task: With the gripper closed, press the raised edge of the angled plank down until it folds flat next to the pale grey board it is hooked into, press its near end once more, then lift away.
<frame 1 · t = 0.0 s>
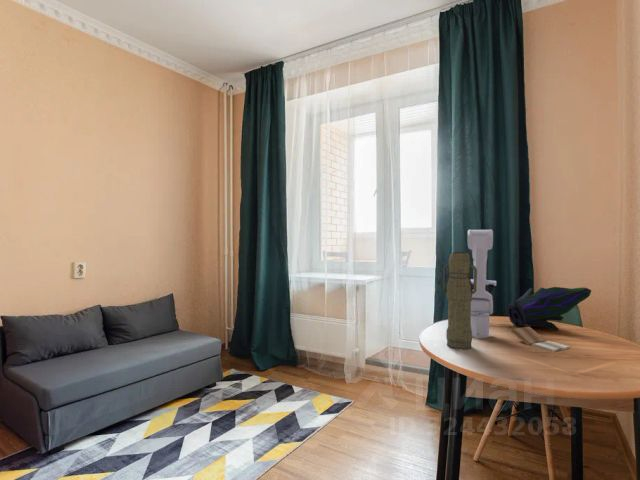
hand: (479, 298, 182), 11 cm above the table, fingers open, 7 cm apart
plank: (528, 335, 143), point 3 cm above the table, hinge at 28.0°
thermos: (459, 346, 138), on the table
laid board: (550, 348, 136), on the table
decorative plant: (542, 328, 168), on the table
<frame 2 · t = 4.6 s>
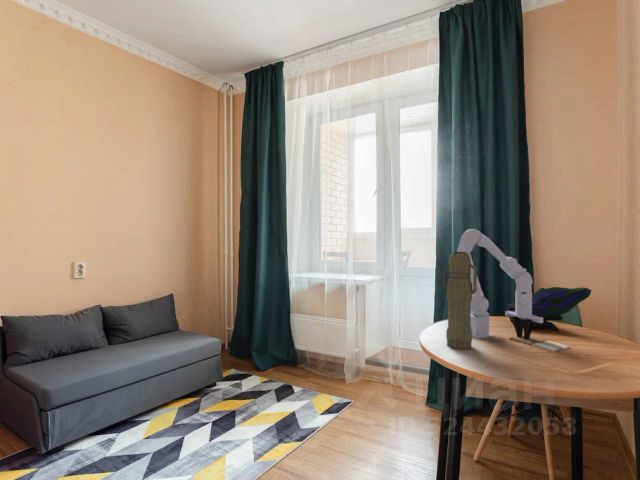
hand: (523, 337, 145), 1 cm above the table, fingers closed on plank, 2 cm apart
plank: (527, 340, 144), point 1 cm above the table, hinge at 1.8°, touching gripper
everything else where it was.
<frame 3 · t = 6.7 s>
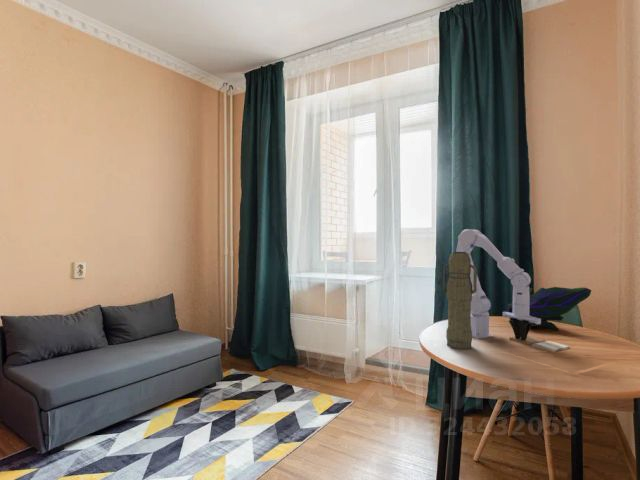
hand: (520, 339, 143), 1 cm above the table, fingers closed
plank: (527, 340, 144), point 1 cm above the table, hinge at 1.7°, touching gripper
everything else where it was.
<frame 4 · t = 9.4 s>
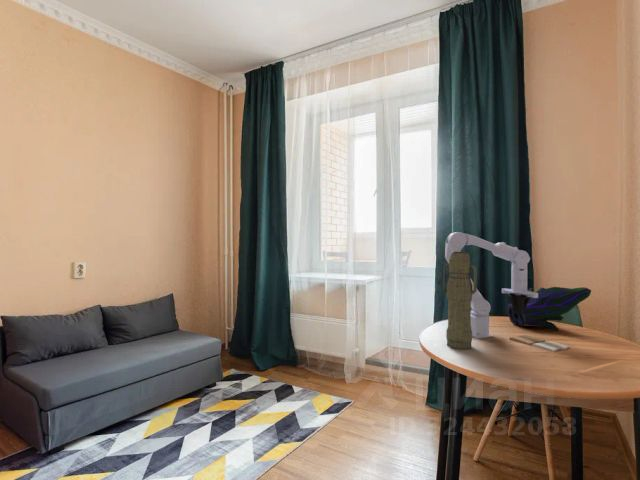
hand: (519, 313, 150), 10 cm above the table, fingers closed
plank: (527, 340, 144), point 1 cm above the table, hinge at 1.7°
everything else where it was.
at the end: plank at +2° (first picture: +28°); the gripper is holding nothing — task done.
